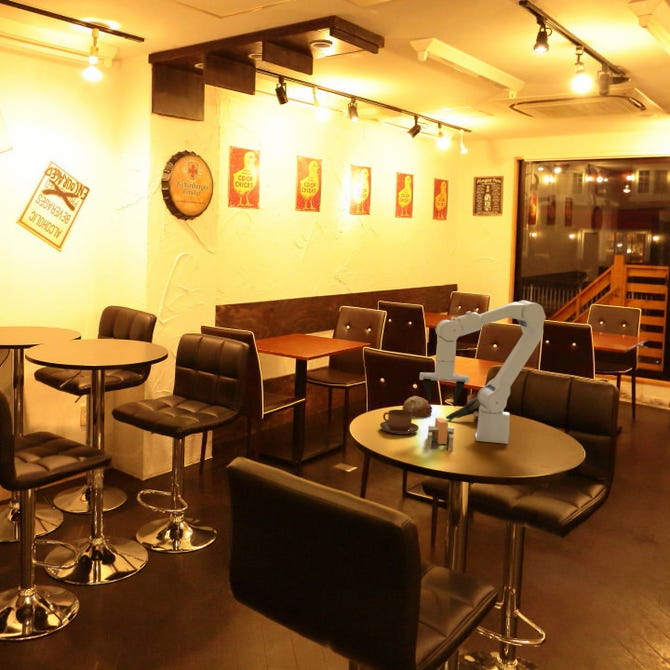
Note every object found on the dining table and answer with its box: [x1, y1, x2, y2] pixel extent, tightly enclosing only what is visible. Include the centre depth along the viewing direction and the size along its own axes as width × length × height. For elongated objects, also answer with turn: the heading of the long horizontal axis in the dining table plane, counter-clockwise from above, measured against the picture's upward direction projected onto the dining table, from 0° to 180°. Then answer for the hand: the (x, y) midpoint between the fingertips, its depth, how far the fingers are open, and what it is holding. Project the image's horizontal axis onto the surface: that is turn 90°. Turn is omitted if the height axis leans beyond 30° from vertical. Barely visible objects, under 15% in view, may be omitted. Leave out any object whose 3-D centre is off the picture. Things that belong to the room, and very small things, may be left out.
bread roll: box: [401, 395, 433, 418], centre depth 248 cm, size 10×10×8 cm
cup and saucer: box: [379, 409, 420, 435], centre depth 224 cm, size 12×12×6 cm
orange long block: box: [434, 417, 449, 445], centre depth 211 cm, size 2×8×6 cm, turn 1°
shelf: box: [426, 424, 455, 452], centre depth 212 cm, size 7×12×5 cm, turn 170°
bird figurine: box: [445, 390, 513, 422], centre depth 241 cm, size 13×10×20 cm
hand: (441, 404), depth 217 cm, fingers open, 7 cm apart
